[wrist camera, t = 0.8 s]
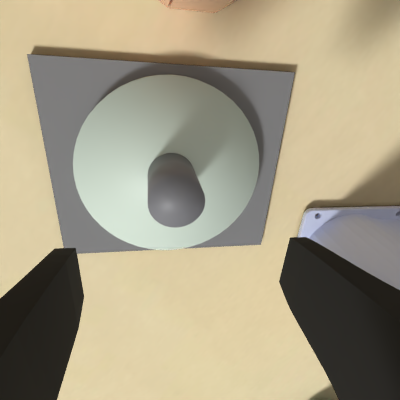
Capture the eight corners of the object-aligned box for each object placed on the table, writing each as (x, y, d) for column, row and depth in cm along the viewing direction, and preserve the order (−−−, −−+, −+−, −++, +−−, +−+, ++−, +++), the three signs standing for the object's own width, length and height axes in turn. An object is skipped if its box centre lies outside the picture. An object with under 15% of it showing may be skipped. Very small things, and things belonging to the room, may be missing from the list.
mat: (291, 72, 16) (294, 72, 16) (259, 241, 22) (260, 244, 21) (30, 54, 14) (27, 54, 13) (66, 250, 19) (65, 254, 19)
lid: (268, 80, 16) (307, 88, 12) (242, 239, 21) (264, 281, 17) (62, 67, 14) (29, 71, 10) (87, 246, 19) (72, 295, 15)
